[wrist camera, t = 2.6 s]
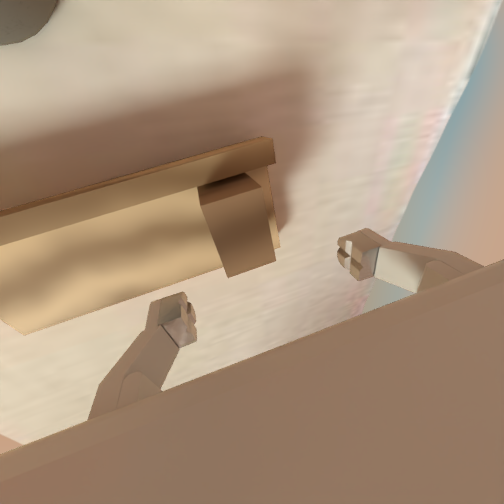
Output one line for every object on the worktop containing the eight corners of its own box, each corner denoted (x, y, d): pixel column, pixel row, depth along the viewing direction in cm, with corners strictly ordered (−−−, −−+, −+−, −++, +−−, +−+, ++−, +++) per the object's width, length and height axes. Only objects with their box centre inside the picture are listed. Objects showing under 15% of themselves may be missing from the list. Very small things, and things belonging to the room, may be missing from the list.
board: (273, 238, 24) (289, 259, 20) (36, 319, 21) (5, 359, 18) (254, 135, 18) (272, 138, 14) (-80, 230, 15) (-163, 263, 12)
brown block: (260, 242, 21) (278, 271, 17) (222, 255, 21) (231, 287, 17) (243, 171, 17) (261, 187, 13) (196, 185, 17) (200, 206, 13)
